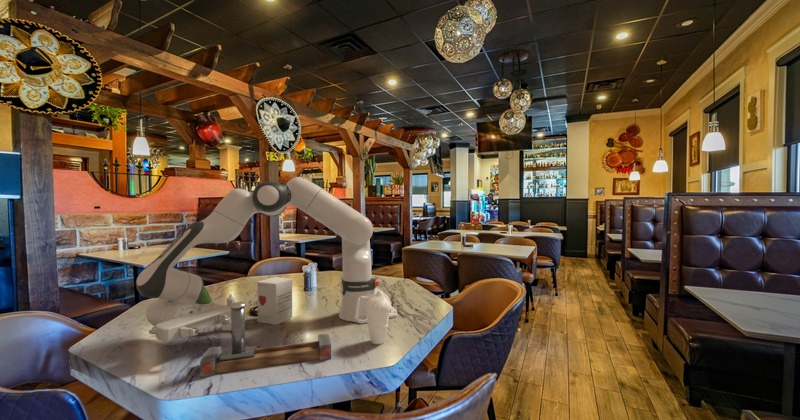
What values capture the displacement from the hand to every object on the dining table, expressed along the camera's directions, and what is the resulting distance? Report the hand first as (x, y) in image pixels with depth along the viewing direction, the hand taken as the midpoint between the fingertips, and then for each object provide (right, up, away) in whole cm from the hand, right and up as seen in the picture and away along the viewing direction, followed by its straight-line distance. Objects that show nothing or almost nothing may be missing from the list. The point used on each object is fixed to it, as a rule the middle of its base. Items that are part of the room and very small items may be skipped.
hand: (213, 326), depth 93 cm
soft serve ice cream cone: (+46, -8, +9) cm, 48 cm away
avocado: (-24, -8, +34) cm, 42 cm away
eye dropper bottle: (-5, -8, +21) cm, 23 cm away
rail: (+18, -8, -3) cm, 20 cm away
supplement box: (+7, -8, +29) cm, 31 cm away
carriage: (+10, -7, -5) cm, 13 cm away
